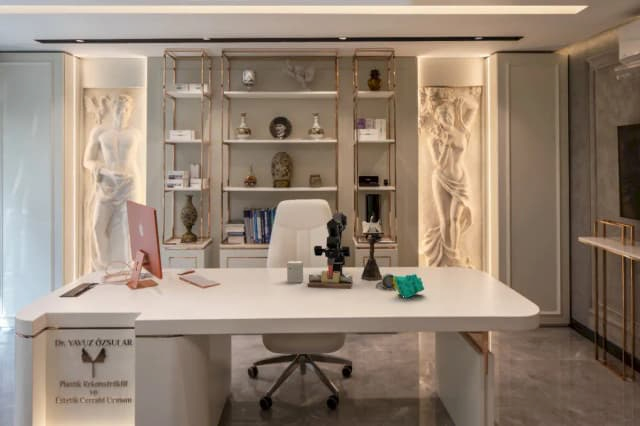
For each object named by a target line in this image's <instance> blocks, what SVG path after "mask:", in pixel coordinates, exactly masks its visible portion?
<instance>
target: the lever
mask: <svg viewBox="0 0 640 426" xmlns="http://www.w3.org/2000/svg"><path fill="white" fill-rule="evenodd" d="M326 262H327V263H326V264H327V267H328V269H327V271H328V280H333V266H332V265H333V259H328V258H327V260H326Z"/></svg>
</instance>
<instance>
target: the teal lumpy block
mask: <svg viewBox="0 0 640 426" xmlns="http://www.w3.org/2000/svg"><path fill="white" fill-rule="evenodd" d="M393 280H394V282H393V283H394V288H395V289H396V291H397V292H398V294H399V295H401V296H402V297H403V296H404V297H403V298H405V299H408V298H411V297H412V296H415V295H416V294H418V293H419V292H422V291H424V290H425V287H424V285H423V280H422V277H418V276H417V274H416V273H413V274H407V275H405V276H400V275H394V276H393ZM410 296H411V297H410Z"/></svg>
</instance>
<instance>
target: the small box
mask: <svg viewBox="0 0 640 426" xmlns="http://www.w3.org/2000/svg"><path fill="white" fill-rule="evenodd" d="M286 269H287V270H286V273H287V274H286V275H287V276H286V278H287V279H286V280H287V283H303V282H304V261H298V260H295V261H294V260H291V261H289V260H288V262H287V263H286Z"/></svg>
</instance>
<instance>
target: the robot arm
mask: <svg viewBox="0 0 640 426" xmlns="http://www.w3.org/2000/svg"><path fill="white" fill-rule="evenodd" d="M347 226H348V217H347V216H346V215H345V214H344V212H342V211H341V212H339V211H337V212H334V215H333V216H332V218H331V219H330V220H328V221H327V223H326V229H327V233H328V236H327V237H326V246H325V247H324V248H323V246H322V245H315V246H314V247H313V252H314V256H315V257H321V256H323V253H324V256H325V258H327V259H333V265H332V266H333V272H334V271H340V276H345V274H344V273H343V266H345V265H346V257H347V258H348V257H349V258H350V257H351V249H350V248H351V247H350V246H345V245H343V246H342V242H343V240H342V239H343V233H344V231H345V230H347V229H346V228H347Z"/></svg>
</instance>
